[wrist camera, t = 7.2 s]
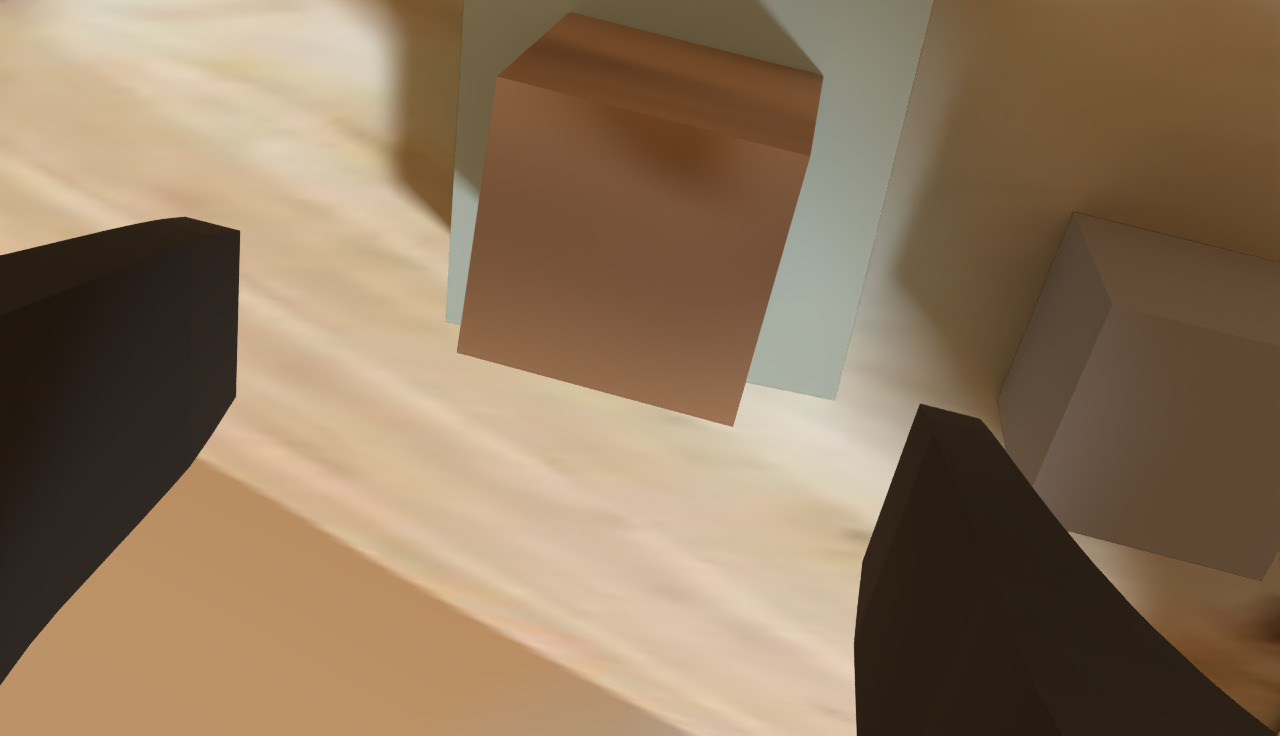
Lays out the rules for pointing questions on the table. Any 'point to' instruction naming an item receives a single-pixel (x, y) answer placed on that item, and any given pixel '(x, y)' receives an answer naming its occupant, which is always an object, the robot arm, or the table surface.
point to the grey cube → (1153, 396)
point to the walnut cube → (635, 213)
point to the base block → (838, 166)
